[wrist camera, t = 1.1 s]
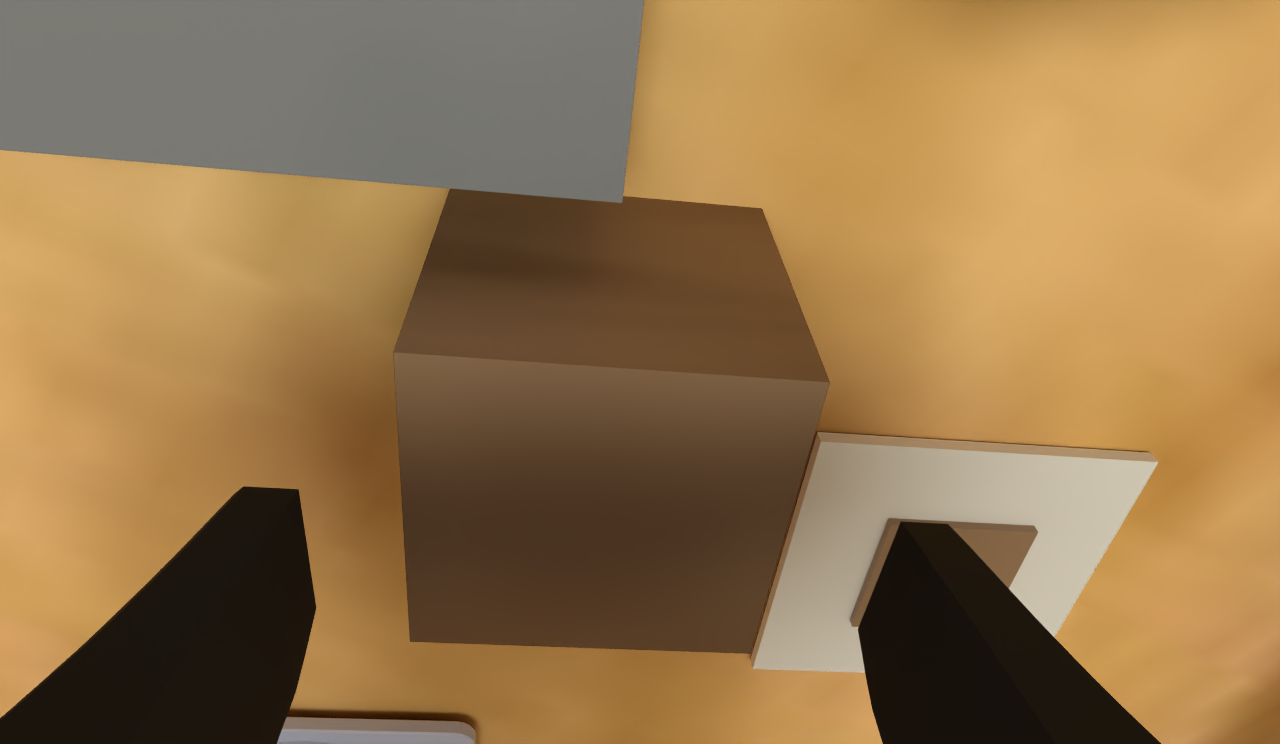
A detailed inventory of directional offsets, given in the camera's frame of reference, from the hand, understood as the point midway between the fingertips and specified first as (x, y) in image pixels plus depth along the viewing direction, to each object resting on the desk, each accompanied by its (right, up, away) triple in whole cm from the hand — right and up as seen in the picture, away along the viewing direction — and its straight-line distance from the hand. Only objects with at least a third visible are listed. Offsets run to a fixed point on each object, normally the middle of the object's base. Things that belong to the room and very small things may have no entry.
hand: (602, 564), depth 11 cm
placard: (+7, -2, +9) cm, 11 cm away
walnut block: (0, +3, +5) cm, 6 cm away
